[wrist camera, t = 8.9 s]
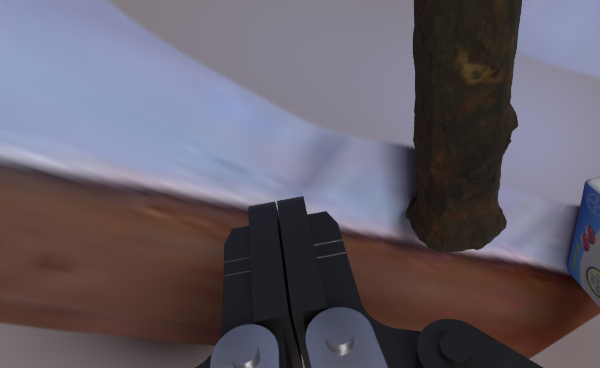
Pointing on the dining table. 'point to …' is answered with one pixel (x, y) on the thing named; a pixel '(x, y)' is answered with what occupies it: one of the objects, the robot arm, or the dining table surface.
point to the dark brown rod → (462, 118)
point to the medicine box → (587, 242)
